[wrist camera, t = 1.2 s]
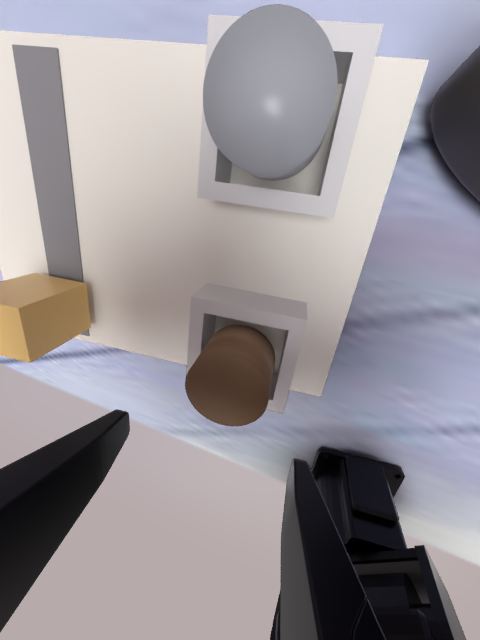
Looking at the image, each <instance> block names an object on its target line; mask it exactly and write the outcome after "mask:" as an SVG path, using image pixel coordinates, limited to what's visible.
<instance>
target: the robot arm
mask: <svg viewBox="0 0 480 640" xmlns="http://www.w3.org/2000/svg"><path fill="white" fill-rule="evenodd" d="M129 431H130V425H129V414H128V412H126V411H122V410H114V411H112V412H110V413H108V414H107V415H105V416H103V417H101V418H99V419H97V420H95V421H93V422H91V423H89V424H87V425H85V426H83V427H81V428H79V429H77V430H75V431H73V432H72V433H69V434H68V435H66V436H64V437H62V438H60V439H58V440H56V441H54V442H52V443H50V444H48V445H46V446H44V447H42V448H40V449H38V450H36V451H34V452H32V453H31V454H29V455H27V456H25V457H23V458H21V459H19V460H17V461H15V462H13V463H11V464H9V465H7V466H5V467H3V468H1V469H0V632H1V631H2V629H3V627H4V626H5V625H6V623H7V622H8V620H9V619H10V617H11V616H12V614H13V613H14V611H15V610H16V608H17V607H18V606H19V604H20V603H21V601H22V600H23V598H24V597H25V595H26V594H27V592H28V591H29V589H30V588H31V586H32V585H33V583H34V582H35V580H36V579H37V578H38V576H39V575H40V573H41V572H42V570H43V569H44V567H45V566H46V564H47V563H48V561H49V560H50V559H51V557H52V556H53V554H54V553H55V551H56V550H57V548H58V547H59V545H60V544H61V542H62V541H63V539H64V538H65V536H66V535H67V534H68V532H69V531H70V529H71V528H72V526H73V524H74V523H75V522H76V520H77V519H78V517H79V516H80V514H81V513H82V511H83V510H84V508H85V507H86V505H87V504H88V503H89V501H90V499H91V498H92V497H93V495H94V494H95V492H96V491H97V489H98V488H99V486H100V485H101V483H102V482H103V480H104V479H105V477H106V475H107V473H108V472H109V470H110V468H111V466H112V464H113V462H114V461H115V459H116V457H117V455H118V453H119V452H120V450H121V448H122V446H123V444H124V442H125V441H126V439H127V437H128V435H129ZM323 454H325V455H323ZM404 477H405V476H404V473H403V470H402V469H401V468H399V467H395V466H391V465H388V464H384V463H380V462H376V461H372V460H369V459H365V458H361V457H357V456H353V455H350V454H346V453H342V452H338V451H334V450H331V449H327V448H321V449H319V450H318V452H317V455H316V458H315V461H314V463H313V466H312V469H311V470H310V467H309V465H308V463H307V462H306V461H304V460H300V459H296V458H295V459H293V461H292V464H291V468H290V471H289V474H288V478H287V485H286V495H285V504H284V513H283V522H282V532H281V590H280V594H279V598H278V603H277V607H276V612H275V616H274V621H273V627H272V631H271V637H270V640H466V638H465V635H464V633H463V630H462V627H461V625H460V622H459V620H458V617H457V615H456V612H455V609H454V607H453V604H452V602H451V599H450V597H449V594H448V592H447V590H446V588H445V586H444V584H443V582H442V580H441V578H440V576H439V574H438V572H437V570H436V568H435V566H434V564H433V562H432V560H431V558H430V556H429V554H428V552H427V550H426V548H425V546H424V545H420V546H415V548H409V549H407V546H406V543H405V539H404V536H403V532H402V529H401V526H400V523H399V516H398V513H397V510H396V507H395V503H394V500H393V497H394V495H395V494H396V492H397V490H398V488H399V487H400V485H401V483H402V481H403V480H404Z"/></svg>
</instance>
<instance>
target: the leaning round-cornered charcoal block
mask: <svg viewBox="0 0 480 640" xmlns="http://www.w3.org/2000/svg"><path fill="white" fill-rule="evenodd" d="M431 127H432V133H433V137H434V140H435V143H436V145H437V148H438V150H439V151H440V153H441V155H442V157H443V159H444V160H445V162H446V163H447V165H448V166H449V168H450V169H451V171H452V172H453V173H454V175H455V176H456V177H457V179H458V180H459V181H460V182H461V183H462V184H463V186H464V187H465V188H466V189H467V190H468V191H469V192H470V193H471V194H472V195H473V196H474V197H475V198H476V199H477V200H478V201H479V202H480V46H479V47H478V48H477V49H476V50H475V51H474V52H473V53H472V54H471V55H470V57H469V58H468V59H467V60H466V61H465V62H464V63H463V64H462V65H461V66H460V67H459V68H458V69H457V70H456V71H455V72H454V74H453V75H452V76H451V77H450V78H449V79H448V80H447V81H446V82H445V83H444V84H443V85H442V86H441V88H440V89H439V90H438V92H437V94H436V96H435V98H434V100H433V103H432V106H431Z"/></svg>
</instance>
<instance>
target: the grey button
mask: <svg viewBox="0 0 480 640" xmlns="http://www.w3.org/2000/svg"><path fill="white" fill-rule="evenodd" d="M337 82H338V79H337V66H336V60H335V56H334V52H333V49H332V46H331V44H330V42H329V39H328V37H327V35H326V34H325V32H324V31H323V29H322V28H321V26H320V25H319V24H318V23H317V22H316V21H315V20H314V19H313V18H312V17H311V16H309V15H308V14H307V13H305V12H303V11H302V10H300V9H298V8H295V7H292V6H288V5H281V4H275V5H266V6H262V7H259V8H256V9H254V10H251V11H249V12H248V13H246V14H244V15H243V16H241V17H240V18H239V19H238V20H236V21H235V22H234V23H233V24H232V25H231V26H230V27H229V28H228V29H227V30H226V31H225V33H224V34H223V36H222V37H221V38H220V40H219V41H218V43H217V45H216V47H215V48H214V50H213V53H212V55H211V57H210V60H209V63H208V66H207V69H206V73H205V78H204V85H203V109H204V115H205V121H206V124H207V127H208V130H209V133H210V135H211V137H212V139H213V141H214V143H215V144H216V146H217V147H218V149H219V150H220V151H221V153H222V154H223V155H224V156H225V157H226V158H227V159H228V160H230V161H231V162H232V163H234V164H235V165H237V166H238V167H240V168H242V169H244V170H245V171H247V172H249V173H250V174H252V175H254V176H256V177H258V178H260V179H264V180H271V181H276V180H283V179H287V178H289V177H292V176H294V175H296V174H297V173H299V172H300V171H302V170H303V169H304V168H305V167H306V166H307V165H309V163H310V162H311V161H312V160H313V159H314V157H315V156H316V154H317V153H318V151H319V149H320V147H321V145H322V142H323V140H324V137H325V134H326V131H327V128H328V125H329V122H330V118H331V115H332V112H333V108H334V105H335V100H336V94H337Z"/></svg>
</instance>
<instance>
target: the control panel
mask: <svg viewBox="0 0 480 640" xmlns="http://www.w3.org/2000/svg"><path fill="white" fill-rule="evenodd" d="M240 17H241V16H224V15H208V27H207V44H206V45H204V44H190V43H175V42H161V41H146V40H131V39H117V38H102V37H88V36H73V35H59V34H44V33H29V32H15V31H0V268H1V272H2V276H3V280H8V279H12V278H16V277H20V276H24V275H28V274H32V273H39V274H43V275H48V276H53V277H58V278H63V279H68V280H72V281H77V282H82V283H86V284H87V294H88V303H89V313H90V322H91V328H89V329H88V330H86V331H84V332H83V333H81V334H79V335H77V336H76V337H74V338H75V339H79V340H84V341H88V342H92V343H96V344H100V345H105V346H109V347H113V348H117V349H121V350H125V351H130V352H134V353H138V354H142V355H146V356H151V357H155V358H159V359H163V360H167V361H172V362H176V363H180V364H184V365H187V372H186V376H187V373H188V371H189V369H190V368H191V367H192V365H193V364H194V362H195V361H196V359H197V358H198V356H199V355H200V353H201V352H202V350H203V349H204V348H205V346H206V345H207V343H208V342H209V340H210V339H211V337H212V336H213V335H214V334H215V333H216V332H217V331H218V330H220V329H221V328H223V327H226V326H230V325H246V326H249V327H252V328H254V329H256V330H258V331H260V332H261V333H262V334H263V335H265V336H266V337H267V339H268V340H269V341H270V343H271V344H272V346H273V348H274V352H275V366H274V372H273V378H272V384H271V389H270V395H269V401H268V405H267V408H266V410H270V411H274V412H278V413H282V414H283V413H284V409H285V405H286V401H287V398H288V394H289V390H293V391H297V392H301V393H306V394H310V395H314V396H318V397H321V395H322V392H323V389H324V386H325V382H326V379H327V376H328V373H329V370H330V367H331V364H332V361H333V358H334V354H335V351H336V348H337V345H338V342H339V339H340V336H341V333H342V330H343V326H344V323H345V320H346V317H347V314H348V311H349V308H350V305H351V301H352V298H353V295H354V292H355V289H356V286H357V283H358V280H359V277H360V273H361V270H362V267H363V264H364V261H365V258H366V255H367V252H368V249H369V245H370V242H371V239H372V236H373V233H374V230H375V227H376V224H377V221H378V217H379V214H380V211H381V208H382V205H383V202H384V199H385V196H386V193H387V189H388V186H389V183H390V180H391V177H392V174H393V171H394V168H395V164H396V161H397V158H398V155H399V152H400V149H401V146H402V143H403V140H404V136H405V133H406V130H407V127H408V124H409V121H410V118H411V115H412V112H413V108H414V105H415V102H416V99H417V96H418V93H419V90H420V87H421V84H422V80H423V77H424V74H425V71H426V68H427V65H428V62H429V60H423V59H408V58H394V57H379V56H376V52H377V48H378V44H379V40H380V37H381V33H382V29H383V25H384V24H375V23H356V22H337V21H318V20H315V21H316V22H317V23H318V24H319V25H320V26H321V28H322V29H323V31H324V32H325V34H326V35H327V37H328V39H329V42H330V44H331V46H332V49H333V52H334V56H335V60H336V66H337V79H338V82H337V94H336V100H335V105H334V108H333V112H332V115H331V118H330V122H329V125H328V128H327V131H326V134H325V137H324V140H323V142H322V145H321V147H320V149H319V151H318V153H317V154H316V156H315V157H314V159H313V160H312V161H311V162H310V163H309V165H307V166H306V167H305V168H304V169H303V170H302V171H300V172H299V173H297V174H296V175H294V176H292V177H289V178H287V179H283V180H276V181H271V180H264V179H260V178H258V177H256V176H254V175H252V174H250V173H249V172H247V171H245V170H244V169H242V168H240V167H238V166H237V165H235V164H234V163H232V162H231V161H230V160H228V159H227V158H226V157H225V156H224V155H223V154H222V153H221V151H220V150H219V149H218V147H217V146H216V144H215V143H214V141H213V139H212V137H211V135H210V133H209V130H208V127H207V124H206V121H205V115H204V109H203V85H204V78H205V73H206V69H207V66H208V63H209V60H210V57H211V55H212V53H213V50H214V48H215V47H216V45H217V43H218V41H219V40H220V38H221V37H222V36H223V34H224V33H225V31H226V30H227V29H228V28H229V27H230V26H231V25H232V24H233V23H234V22H235V21H236V20H238V19H239V18H240ZM185 389H186V388H185Z"/></svg>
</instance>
